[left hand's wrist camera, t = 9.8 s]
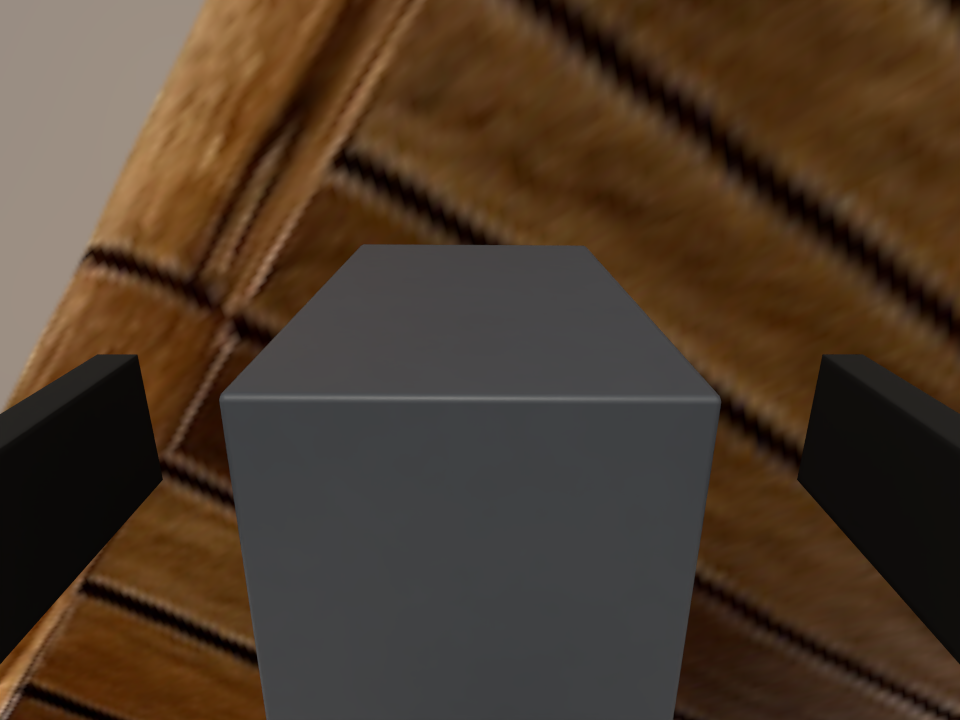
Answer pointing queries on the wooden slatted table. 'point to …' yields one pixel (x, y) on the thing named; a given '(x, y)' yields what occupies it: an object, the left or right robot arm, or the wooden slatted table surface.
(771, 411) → the wooden slatted table surface
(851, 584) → the wooden slatted table surface
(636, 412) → the bar
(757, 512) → the wooden slatted table surface
